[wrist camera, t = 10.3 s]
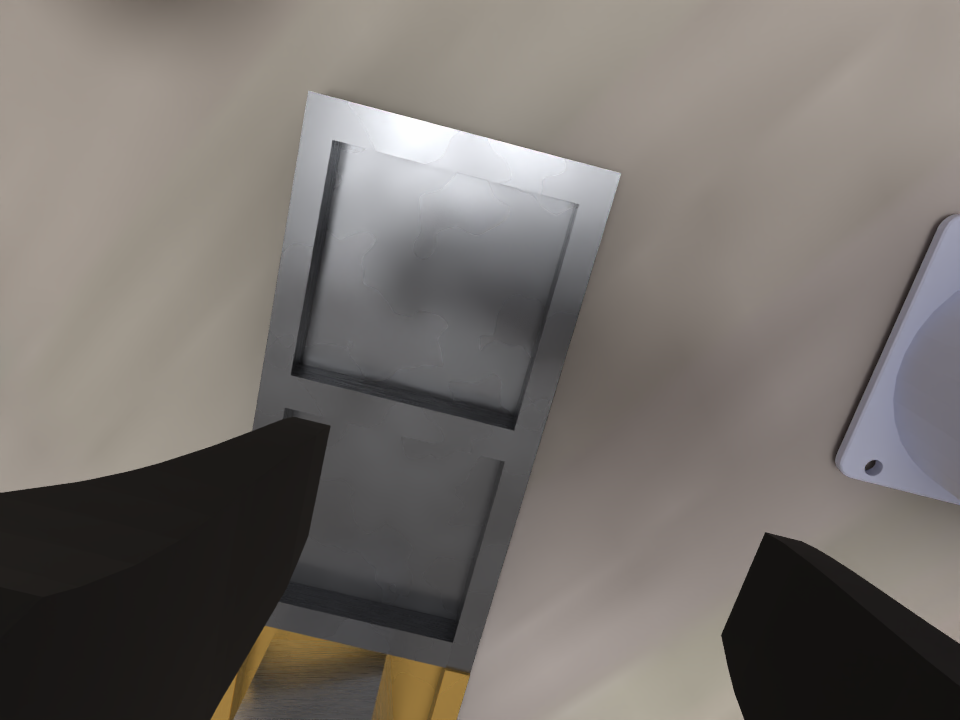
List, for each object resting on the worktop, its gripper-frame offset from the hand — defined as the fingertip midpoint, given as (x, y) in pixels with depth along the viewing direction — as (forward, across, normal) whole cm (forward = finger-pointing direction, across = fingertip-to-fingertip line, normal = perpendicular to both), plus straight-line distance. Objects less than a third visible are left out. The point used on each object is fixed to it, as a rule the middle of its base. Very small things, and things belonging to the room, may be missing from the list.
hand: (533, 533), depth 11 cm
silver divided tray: (+10, +3, +6) cm, 12 cm away
